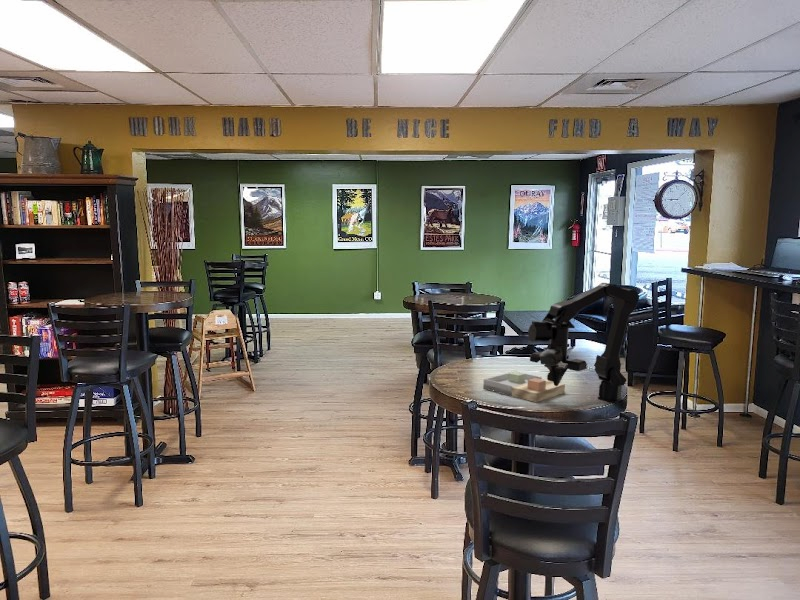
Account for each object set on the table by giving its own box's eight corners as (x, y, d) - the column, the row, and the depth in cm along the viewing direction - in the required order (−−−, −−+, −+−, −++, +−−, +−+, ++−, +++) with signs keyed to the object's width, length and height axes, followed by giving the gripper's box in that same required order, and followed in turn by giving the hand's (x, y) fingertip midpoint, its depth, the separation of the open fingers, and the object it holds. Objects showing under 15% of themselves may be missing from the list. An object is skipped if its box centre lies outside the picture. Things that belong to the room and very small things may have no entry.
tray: (541, 386, 213) (541, 377, 212) (510, 395, 199) (510, 386, 199) (514, 379, 221) (514, 371, 221) (483, 388, 208) (483, 379, 207)
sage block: (515, 371, 216) (514, 379, 217) (508, 373, 213) (508, 380, 213) (525, 373, 213) (524, 381, 213) (518, 375, 210) (518, 383, 210)
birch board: (564, 392, 205) (565, 384, 205) (535, 402, 192) (536, 393, 192) (540, 386, 212) (541, 378, 212) (511, 395, 199) (511, 387, 199)
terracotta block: (545, 388, 198) (545, 380, 198) (538, 391, 195) (538, 382, 195) (534, 386, 201) (534, 378, 201) (527, 388, 198) (527, 380, 198)
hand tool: (557, 382, 220) (558, 371, 219) (546, 381, 221) (547, 370, 221) (562, 372, 237) (562, 361, 237) (552, 371, 239) (553, 360, 238)
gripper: (522, 339, 192) (519, 383, 194) (572, 348, 178) (569, 396, 180) (539, 335, 199) (537, 378, 201) (589, 344, 186) (585, 390, 188)
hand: (556, 385), depth 193 cm, fingers closed
